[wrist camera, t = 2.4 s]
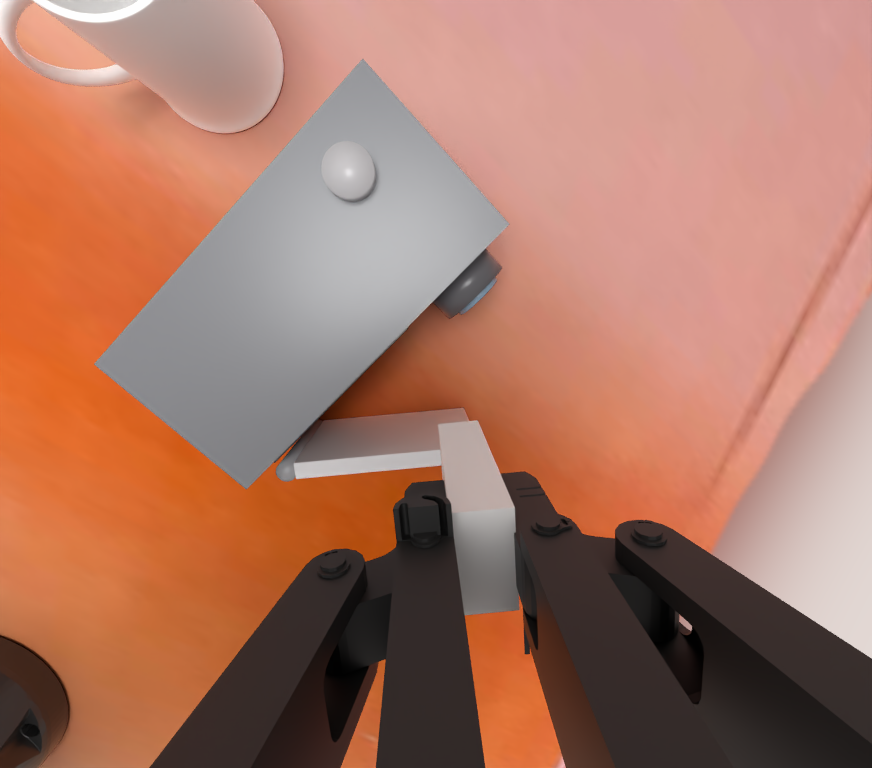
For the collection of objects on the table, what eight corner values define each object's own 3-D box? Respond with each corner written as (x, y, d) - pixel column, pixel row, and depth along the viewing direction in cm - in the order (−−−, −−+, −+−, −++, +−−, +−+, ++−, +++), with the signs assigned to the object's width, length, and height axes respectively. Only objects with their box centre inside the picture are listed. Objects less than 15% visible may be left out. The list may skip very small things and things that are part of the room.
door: (313, 445, 34) (280, 496, 26) (309, 420, 33) (274, 463, 25) (465, 431, 34) (481, 477, 26) (463, 406, 34) (479, 444, 25)
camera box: (314, 447, 34) (267, 520, 23) (193, 341, 32) (79, 367, 21) (498, 264, 32) (540, 251, 21) (380, 135, 29) (359, 46, 19)
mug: (147, 172, 29) (-34, 93, 18) (79, 37, 27) (-173, -152, 16) (306, 105, 29) (230, -21, 17) (248, -37, 27) (118, -287, 15)
